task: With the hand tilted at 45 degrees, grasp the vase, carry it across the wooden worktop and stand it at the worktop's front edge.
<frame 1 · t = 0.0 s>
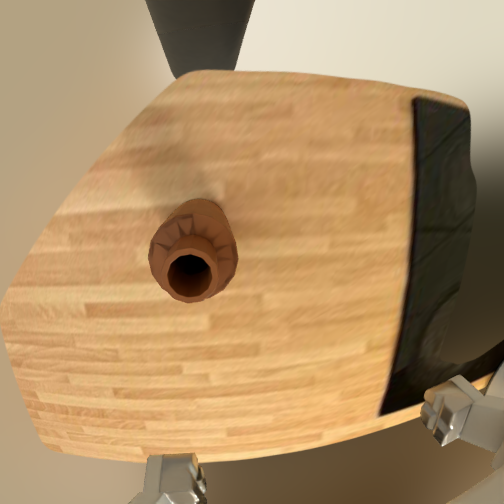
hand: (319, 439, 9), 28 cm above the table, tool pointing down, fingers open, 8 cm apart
vase: (198, 227, 35), on the table
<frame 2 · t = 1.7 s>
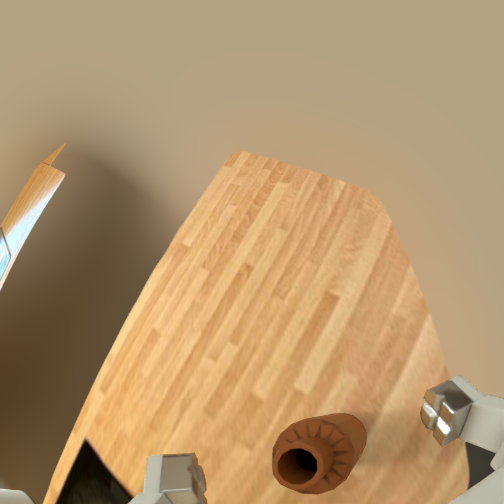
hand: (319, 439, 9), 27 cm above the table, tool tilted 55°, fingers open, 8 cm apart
vase: (338, 439, 30), on the table
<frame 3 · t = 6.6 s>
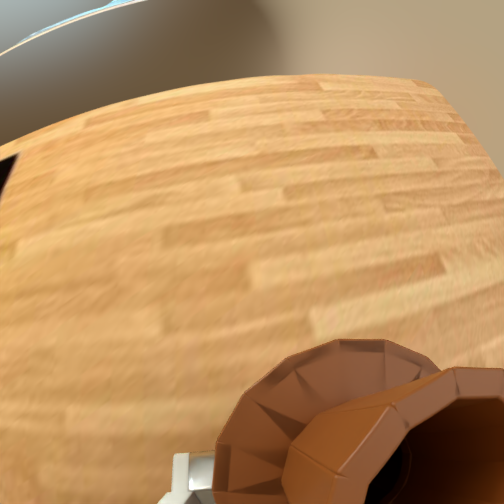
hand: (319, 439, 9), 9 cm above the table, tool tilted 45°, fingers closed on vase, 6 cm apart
vase: (291, 439, 17), on the table, touching gripper
when the fingers open (9 cm above the table, at t = 15.5 s): vase stays where it is, on the table.
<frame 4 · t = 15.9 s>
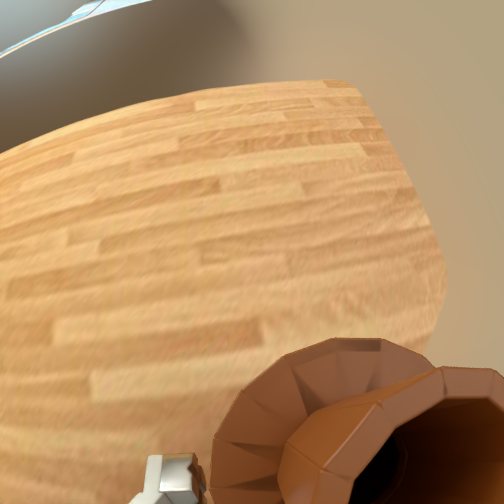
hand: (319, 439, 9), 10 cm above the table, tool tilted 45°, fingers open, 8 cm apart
vase: (292, 437, 17), on the table
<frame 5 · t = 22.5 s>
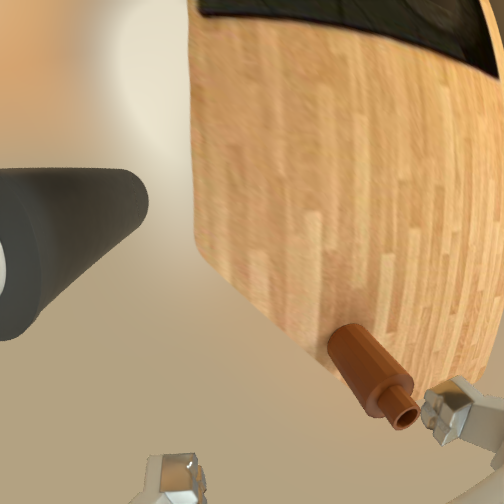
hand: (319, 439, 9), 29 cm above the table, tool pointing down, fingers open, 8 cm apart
vase: (347, 343, 42), on the table
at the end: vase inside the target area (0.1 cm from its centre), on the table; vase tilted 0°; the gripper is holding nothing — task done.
